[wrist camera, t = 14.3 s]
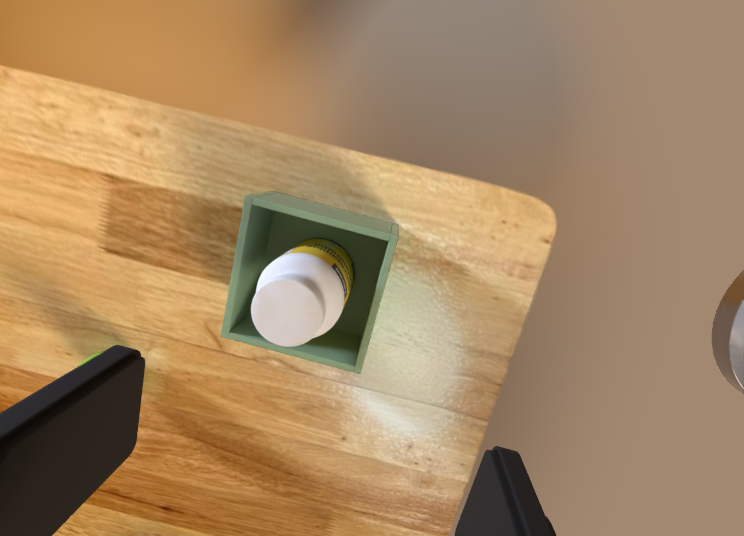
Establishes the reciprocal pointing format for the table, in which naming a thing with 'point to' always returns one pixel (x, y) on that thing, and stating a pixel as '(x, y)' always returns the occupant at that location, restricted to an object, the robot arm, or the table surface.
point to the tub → (283, 232)
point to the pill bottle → (303, 292)
